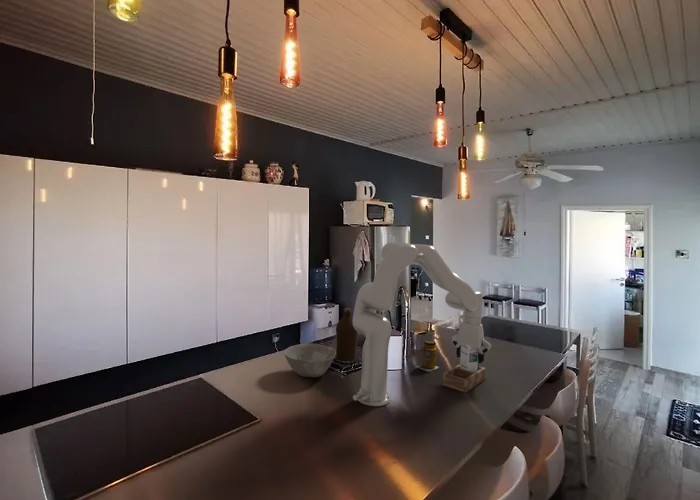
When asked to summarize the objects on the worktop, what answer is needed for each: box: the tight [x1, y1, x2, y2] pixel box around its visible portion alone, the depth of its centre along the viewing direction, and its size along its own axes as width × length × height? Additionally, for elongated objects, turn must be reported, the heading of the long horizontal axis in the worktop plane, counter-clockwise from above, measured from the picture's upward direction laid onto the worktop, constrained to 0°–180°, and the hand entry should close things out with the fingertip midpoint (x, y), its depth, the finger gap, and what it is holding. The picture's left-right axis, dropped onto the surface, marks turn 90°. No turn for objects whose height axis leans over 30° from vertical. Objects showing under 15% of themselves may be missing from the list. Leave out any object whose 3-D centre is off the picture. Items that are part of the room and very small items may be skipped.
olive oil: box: [335, 307, 359, 361], centre depth 180 cm, size 11×11×25 cm
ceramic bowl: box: [283, 343, 336, 378], centre depth 162 cm, size 22×23×10 cm
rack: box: [442, 363, 487, 393], centre depth 159 cm, size 19×10×5 cm, turn 138°
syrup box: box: [459, 345, 480, 373], centre depth 162 cm, size 6×6×14 cm
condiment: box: [415, 339, 440, 372], centre depth 175 cm, size 7×8×12 cm
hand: (469, 359), depth 162 cm, fingers open, 9 cm apart
